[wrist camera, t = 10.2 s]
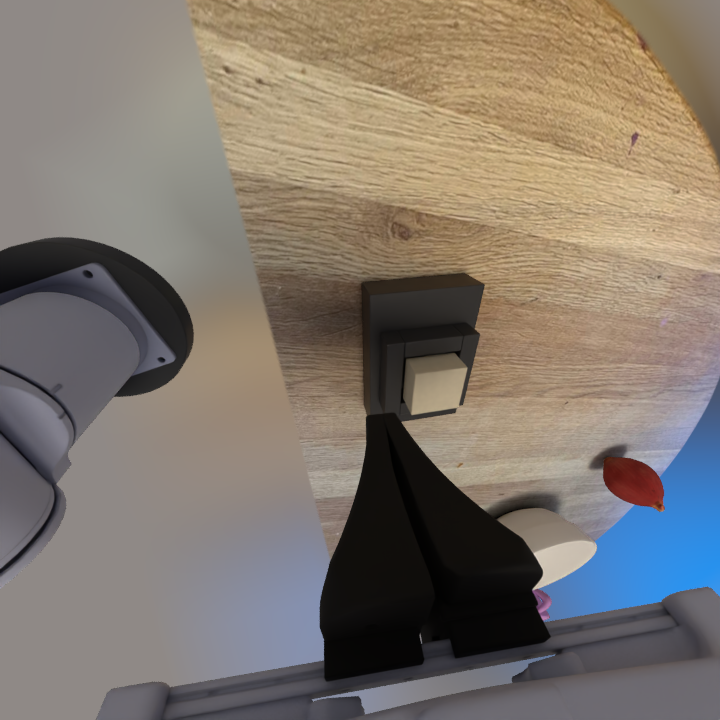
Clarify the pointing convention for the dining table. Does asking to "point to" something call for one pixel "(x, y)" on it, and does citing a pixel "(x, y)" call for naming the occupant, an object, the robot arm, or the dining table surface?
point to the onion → (633, 482)
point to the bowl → (551, 541)
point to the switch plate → (415, 333)
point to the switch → (433, 382)
